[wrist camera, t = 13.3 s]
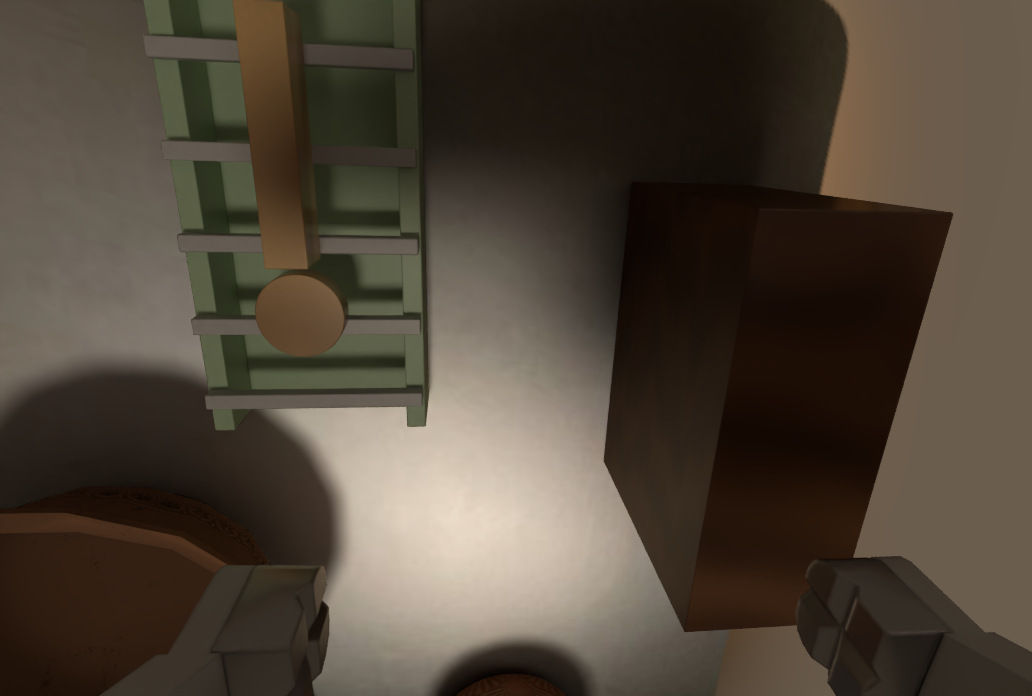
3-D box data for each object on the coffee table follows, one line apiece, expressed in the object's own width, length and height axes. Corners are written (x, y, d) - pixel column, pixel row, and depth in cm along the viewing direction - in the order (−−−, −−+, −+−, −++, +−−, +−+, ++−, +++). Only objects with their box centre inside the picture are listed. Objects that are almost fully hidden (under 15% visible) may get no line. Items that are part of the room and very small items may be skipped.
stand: (631, 181, 31) (758, 208, 18) (750, 185, 32) (954, 212, 19) (603, 461, 37) (684, 632, 24) (703, 459, 38) (834, 623, 25)
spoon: (225, 11, 23) (199, -4, 20) (327, 17, 23) (313, 2, 21) (268, 348, 27) (250, 367, 25) (351, 348, 28) (342, 367, 26)
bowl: (298, 368, 33) (228, 469, 23) (376, 644, 41) (350, 812, 30) (-92, 426, 32) (-352, 561, 21) (65, 699, 39) (-72, 894, 29)
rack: (170, -87, 25) (109, -138, 21) (418, -69, 26) (411, -113, 22) (242, 398, 33) (208, 438, 29) (428, 396, 34) (424, 433, 30)
